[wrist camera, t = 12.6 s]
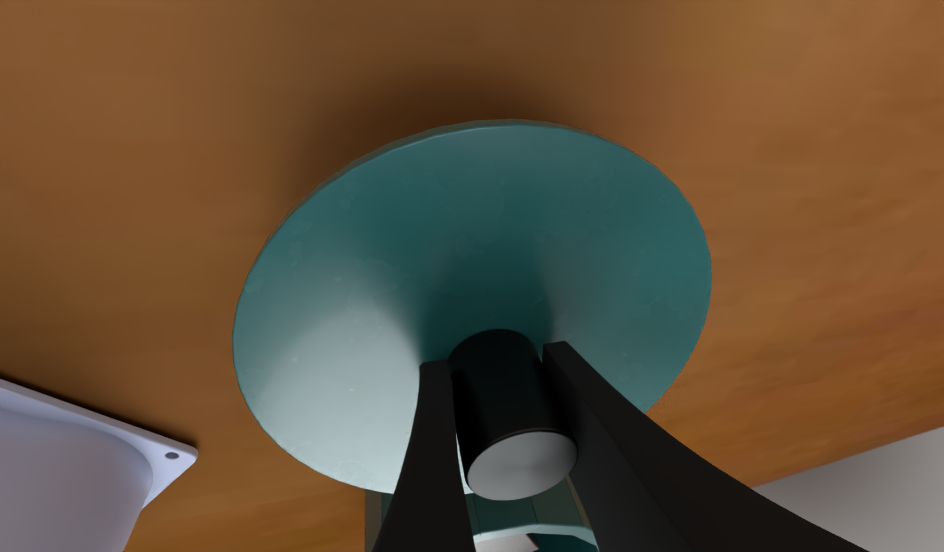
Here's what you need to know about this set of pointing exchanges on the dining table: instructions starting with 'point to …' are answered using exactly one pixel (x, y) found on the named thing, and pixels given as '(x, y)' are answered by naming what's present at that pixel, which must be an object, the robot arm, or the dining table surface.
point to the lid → (468, 299)
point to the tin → (511, 518)
